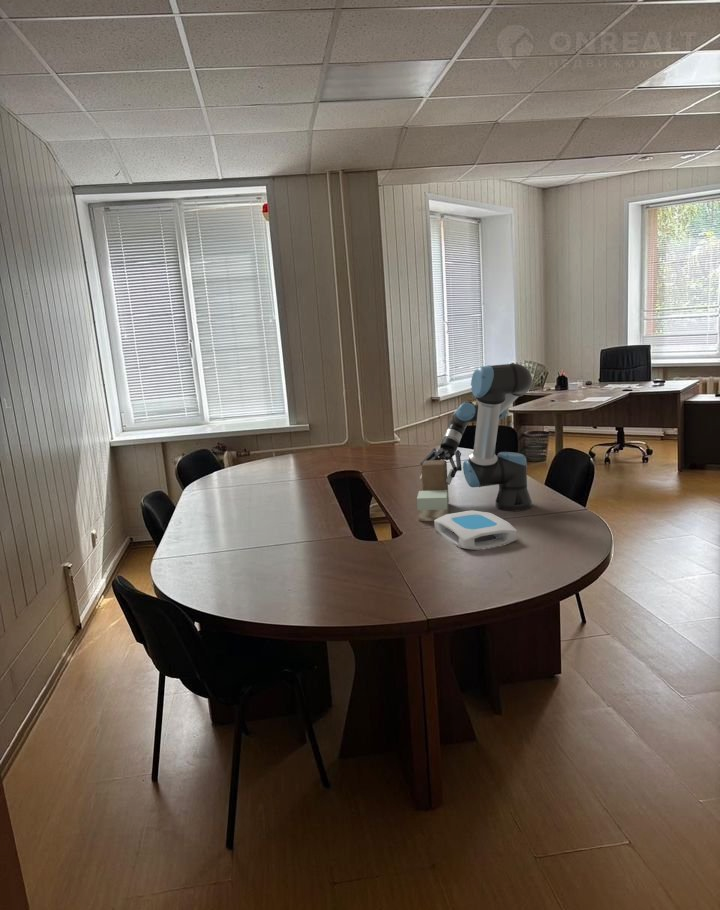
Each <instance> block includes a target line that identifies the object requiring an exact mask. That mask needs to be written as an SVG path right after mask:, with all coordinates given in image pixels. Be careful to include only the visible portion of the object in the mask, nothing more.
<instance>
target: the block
mask: <svg viewBox="0 0 720 910" xmlns="http://www.w3.org/2000/svg"><path fill="white" fill-rule="evenodd" d="M420 467H421V468H420V469H421V470H420V473H421V472H422V473H421V474H422V481H421V484H422V491H434V490H447V492H448V493H449V485H448V484H447V482H446V479H447V477H448V466H447V460H442V459H441V460H429V461H424V463H423V464H422V466H420ZM449 498H450V497H449V496H448V503H449V502H450V500H449Z"/></svg>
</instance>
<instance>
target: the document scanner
mask: <svg viewBox="0 0 720 910" xmlns="http://www.w3.org/2000/svg"><path fill="white" fill-rule="evenodd" d="M433 522H434V523H433V524H434V530H436V531H437V533H438V534H439V535H440V537H442V536H443V537H442V538H444V539H445V538H446V539H447V540H446V539H445V540H446V541H448V542H449V541H450V542H449V543H450V544H452V543H453V544H452V545H454V546H455V545H456V546H455V547H457V546H458V547H457V548H460V549H461V548H462V549H467V550H473V551H479V550H478V549H482V550H484V549H483V548H488V547H493V548H495V547H494V546H499V545H504V544H507V545H509V544H511V543H513V542H515V541H517V540H518V530H517V528H515V527H514V526H513V525H512V524H511V523H510V521H507V520H505V519H503V518H501V517H499V516H497V515H495V514H493V513H491V512H486V511H480V510H465V511H459V512H453V513H448V514H446V515H444V516H442V517H440V518H438V519H435V520H434V521H433ZM453 532H454V533H453ZM491 534H492V535H494V536H495V537H496V538H495V537H494V536H493V537H494V538H491V539H487V540H483V541H475V539H477V538H480V537H486V536H489V535H491ZM492 535H491V536H492ZM504 546H505V545H504ZM499 547H500V546H499ZM488 549H489V548H488Z"/></svg>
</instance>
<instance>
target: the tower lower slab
mask: <svg viewBox="0 0 720 910" xmlns="http://www.w3.org/2000/svg"><path fill="white" fill-rule="evenodd" d="M446 514H449V504H448V505H447V510H418V509H417V515H418V522H428V521H429V522H431V521H433V522H434V520H435V519H438V518H440V517H442V516H444V515H446Z"/></svg>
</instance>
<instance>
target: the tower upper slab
mask: <svg viewBox="0 0 720 910" xmlns="http://www.w3.org/2000/svg"><path fill="white" fill-rule="evenodd" d="M448 497H449V491H448V492H447V490H434V491H423V490H419V491H418V493H417V497H416V506H417V507H416V508H417V509H416V510H417V511H418V510H447V505H448V506H449V502H448Z"/></svg>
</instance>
